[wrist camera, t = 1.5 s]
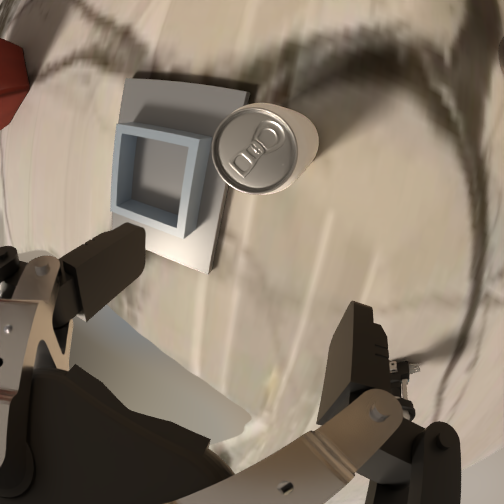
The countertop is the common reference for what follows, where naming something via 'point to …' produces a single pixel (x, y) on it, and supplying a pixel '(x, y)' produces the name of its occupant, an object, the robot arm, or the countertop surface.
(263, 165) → the can
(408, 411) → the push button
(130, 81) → the housing
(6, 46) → the plant pot
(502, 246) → the countertop surface
